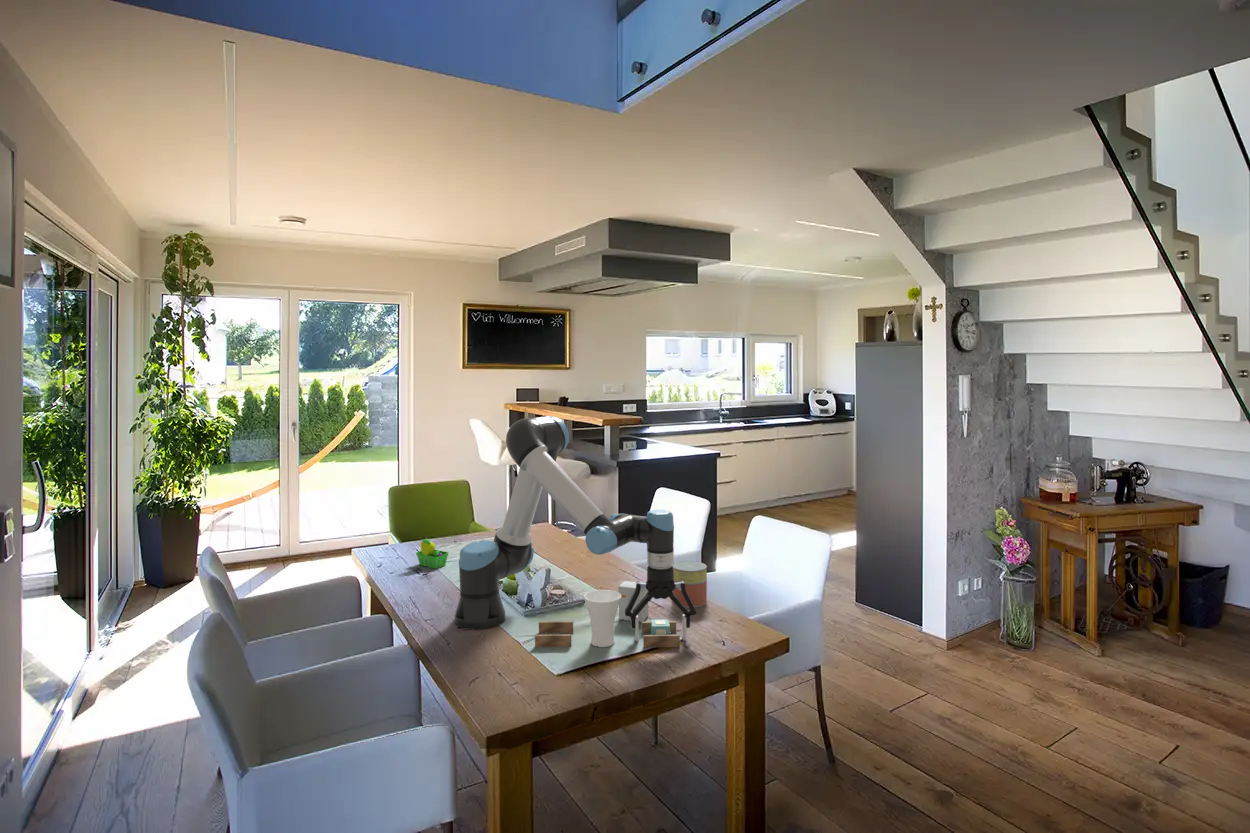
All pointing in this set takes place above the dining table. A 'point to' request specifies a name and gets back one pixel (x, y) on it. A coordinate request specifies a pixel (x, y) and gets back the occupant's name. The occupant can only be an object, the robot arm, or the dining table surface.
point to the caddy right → (660, 637)
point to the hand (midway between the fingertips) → (660, 639)
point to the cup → (602, 615)
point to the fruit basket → (431, 555)
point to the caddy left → (554, 639)
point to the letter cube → (660, 627)
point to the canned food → (691, 582)
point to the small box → (626, 593)
